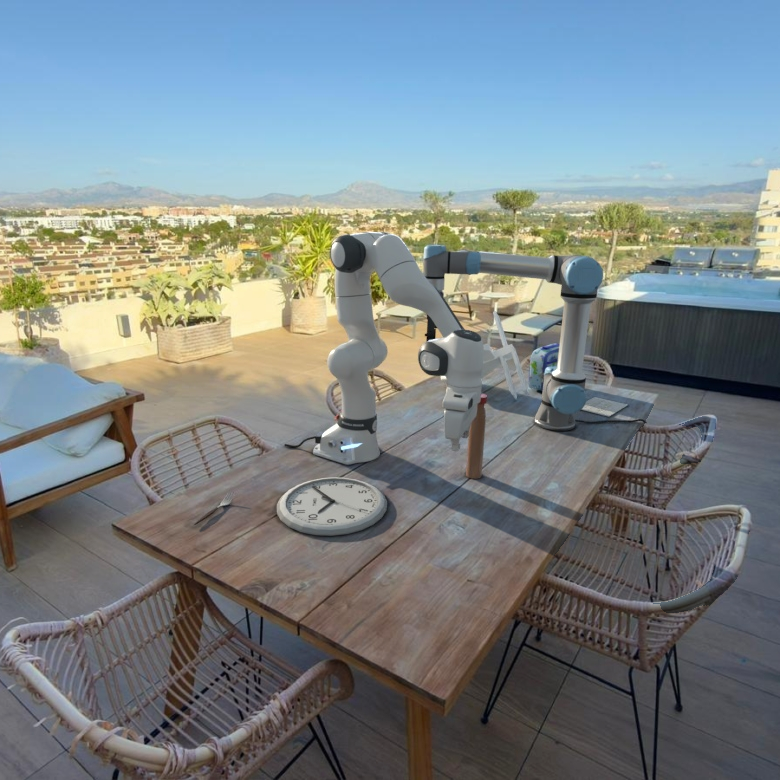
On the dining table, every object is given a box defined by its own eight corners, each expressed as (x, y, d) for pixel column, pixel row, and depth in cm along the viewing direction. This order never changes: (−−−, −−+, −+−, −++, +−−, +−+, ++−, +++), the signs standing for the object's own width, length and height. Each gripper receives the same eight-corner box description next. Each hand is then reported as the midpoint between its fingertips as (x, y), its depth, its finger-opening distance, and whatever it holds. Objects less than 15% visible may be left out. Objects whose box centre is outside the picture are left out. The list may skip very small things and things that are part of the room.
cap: (476, 398, 158) (477, 392, 157) (489, 402, 155) (490, 395, 154) (468, 402, 154) (468, 395, 154) (481, 405, 151) (481, 398, 151)
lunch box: (544, 395, 239) (549, 351, 233) (524, 390, 247) (528, 347, 240) (571, 384, 257) (577, 343, 251) (552, 380, 264) (556, 339, 258)
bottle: (471, 470, 165) (477, 393, 157) (484, 475, 162) (490, 396, 154) (463, 475, 161) (468, 396, 154) (475, 480, 158) (481, 400, 151)
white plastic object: (461, 429, 252) (437, 405, 227) (444, 352, 274) (420, 323, 250) (535, 404, 240) (518, 377, 215) (510, 326, 262) (492, 293, 237)
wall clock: (392, 527, 129) (268, 531, 127) (391, 533, 130) (269, 537, 127) (383, 473, 158) (282, 475, 155) (383, 478, 158) (282, 480, 156)
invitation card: (608, 416, 214) (573, 407, 224) (608, 416, 214) (573, 408, 224) (628, 404, 229) (594, 396, 238) (628, 405, 229) (594, 397, 238)
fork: (190, 525, 132) (189, 518, 131) (229, 496, 146) (228, 490, 145) (198, 527, 131) (198, 520, 130) (237, 498, 145) (236, 491, 145)
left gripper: (462, 381, 144) (459, 428, 148) (440, 403, 126) (437, 456, 130) (484, 384, 142) (481, 431, 146) (465, 407, 124) (462, 460, 128)
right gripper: (424, 286, 195) (422, 342, 201) (420, 294, 171) (417, 357, 177) (444, 287, 194) (441, 343, 200) (443, 295, 170) (440, 358, 177)
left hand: (460, 443), depth 138 cm, fingers open, 8 cm apart
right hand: (430, 350), depth 189 cm, fingers open, 13 cm apart
